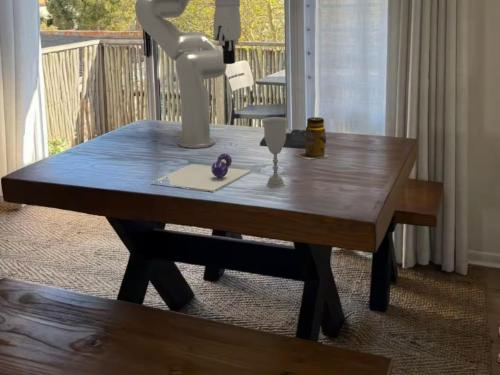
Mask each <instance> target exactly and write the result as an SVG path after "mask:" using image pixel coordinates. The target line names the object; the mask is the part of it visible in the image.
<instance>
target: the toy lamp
mask: <svg viewBox="0 0 500 375" xmlns="http://www.w3.org/2000/svg"><path fill="white" fill-rule="evenodd" d="M231 165H232V157H231V156H230V155H229V154H227V153H222V154H220V155H219V156H218V158H217V161H215V162H214V163H213V164H212V165H211V166H212V168H211V170H212V173H213V175H214V176H216V177H224V176H225V175H226V174H227V172H228V168H230V166H231Z"/></svg>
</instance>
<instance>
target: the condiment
mask: <svg viewBox="0 0 500 375" xmlns="http://www.w3.org/2000/svg"><path fill="white" fill-rule="evenodd" d="M306 122H307V123H306V126H305V130H306V149H305V153H297V154H296V156H297V157H298V158H303V159H306V160H314V159H320V158H326V157H327V158H328V157H330V156H331V155H330V154H329V155H328V154H325V152H326V151H325V149H326V148H325V146H326V143H325V137H326V127H325V124H324V123H325V119H324V118H322V117H318V116H317V117H309V118H308V117H307V119H306Z"/></svg>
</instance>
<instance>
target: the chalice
mask: <svg viewBox="0 0 500 375" xmlns="http://www.w3.org/2000/svg"><path fill="white" fill-rule="evenodd" d="M261 120H262V123H263V125H264V127H263V129H264V130H263V131H264V132H263V138H265V141H266V144H267V146H266V147H267V148H268V150H269V152H270V154H272V155H273V159H272V163H273V166H272V167H271V168H272V170H273V174H272V175H270V177H269V178H268V181H267V183H266V185H265V186H266V187H268V188H272V189H273V188H277V189H278V188H283V187H284V186H286V184H285V182H284V180H283V178H282V176H280V175H279V174H278V169H279V167H278V162H279V160H278V154H280V153H281V151H282V149H283V146H284V143H285V140H286V133H287V123H288V121H289V120H288V118H287V117H282V116H280V117H279V116H275V117H274V116H271V117H264V118H262V119H261Z"/></svg>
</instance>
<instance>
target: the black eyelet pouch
mask: <svg viewBox="0 0 500 375" xmlns="http://www.w3.org/2000/svg"><path fill="white" fill-rule="evenodd" d="M326 143H327V138H326V136H325V144H326ZM259 146H260V147H267V144H266V141H265V138H264V137H262V139H261V140H260V143H259ZM283 148H284V149H285V148H286V149H303V150H306V129H304V130H300V129H292V130H291V132H286V140H285V143H284V146H283ZM283 148H282V149H283Z"/></svg>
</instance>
